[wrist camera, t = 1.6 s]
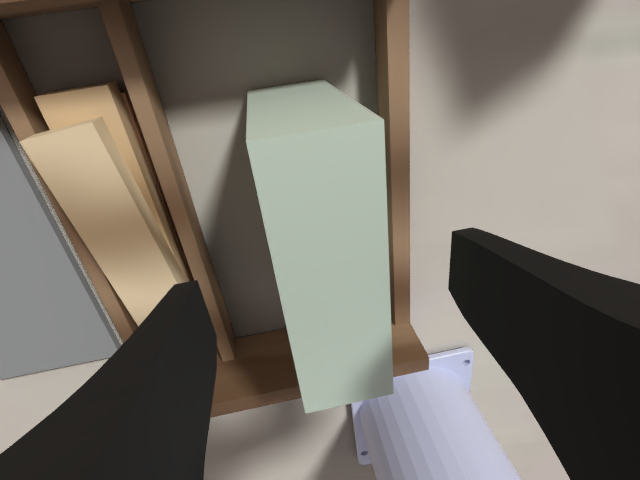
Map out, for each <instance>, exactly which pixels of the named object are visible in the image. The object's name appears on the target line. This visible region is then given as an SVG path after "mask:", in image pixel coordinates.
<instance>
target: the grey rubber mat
mask: <svg viewBox="0 0 640 480" xmlns="http://www.w3.org/2000/svg"><path fill="white" fill-rule="evenodd" d="M120 347H121V345H120V343H119V341H118V339H117V337H116V336H115V334H114V332H113V330H112V328H111V326H110V324H109V322H108V320H107V318H106V317H105V315H104V313H103V311H102V309H101V307H100V305H99V303H98V301H97V299H96V297H95V296H94V294H93V292H92V290H91V288H90V286H89V284H88V282H87V280H86V278H85V277H84V275H83V273H82V271H81V269H80V267H79V265H78V263H77V261H76V259H75V258H74V256H73V254H72V252H71V250H70V248H69V246H68V244H67V242H66V240H65V239H64V237H63V235H62V233H61V231H60V229H59V227H58V225H57V223H56V221H55V220H54V218H53V216H52V214H51V212H50V210H49V208H48V206H47V204H46V202H45V200H44V199H43V197H42V195H41V193H40V191H39V189H38V187H37V185H36V183H35V181H34V180H33V178H32V176H31V174H30V172H29V170H28V168H27V166H26V164H25V162H24V161H23V159H22V157H21V155H20V153H19V151H18V149H17V147H16V145H15V143H14V142H13V140H12V138H11V136H10V134H9V132H8V130H7V128H6V126H5V124H4V123H3V121H2V119H1V117H0V380H1V379H6V378H11V377H16V376H21V375H26V374H31V373H36V372H41V371H45V370H50V369H55V368H60V367H65V366H70V365H75V364H80V363H85V362H90V361H95V360H100V359H105V358H110V357H111V356H112V355H113V354H114V353H115V352H116V351H117V350H118V349H119V348H120Z"/></svg>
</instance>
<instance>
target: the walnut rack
mask: <svg viewBox="0 0 640 480" xmlns="http://www.w3.org/2000/svg"><path fill="white" fill-rule="evenodd" d="M141 1H149V0H0V105H1V107H2V109H3V111H4V112H5V114H6V116H7V118H8V120H9V122H10V124H11V126H12V128H13V130H14V132H15V134H16V136H17V138H18V140H19V141H22V140H24V139H26V138H28V137H30V136H32V135H34V134H37V133H41V132H45V131H49V130H50V129H49V127H48V125H47V123H46V121H45V119H44V117H43V115H42V113H41V111H40V109H39V107H38V105H37V103H36V101H35V99H34V97H35V96H36V94H35V92H34V90H33V88H32V86H31V84H30V81H29V79H28V77H27V75H26V73H25V71H24V69H23V66H22V64H21V62H20V60H19V58H18V56H17V54H16V51H15V49H14V47H13V45H12V43H11V41H10V39H9V36H8V34H7V32H6V30H5V28H4V26H3V24H2V21H1V20H2V19H10V18H18V17H25V16H33V15H41V14H49V13H56V12H64V11H72V10H79V9H87V8H95V7H98V8H99V11H100V13H101V16H102V19H103V22H104V25H105V28H106V31H107V33H108V36H109V39H110V42H111V45H112V48H113V50H114V53H115V56H116V59H117V62H118V65H119V68H120V70H121V73H122V76H123V79H124V82H125V85H126V87H127V90H128V93H129V96H130V99H131V102H132V105H133V107H134V110H135V113H136V116H137V119H138V122H139V125H140V127H141V130H142V133H143V136H144V139H145V142H146V144H147V147H148V150H149V153H150V156H151V159H152V162H153V164H154V167H155V170H156V173H157V176H158V179H159V181H160V184H161V187H162V190H163V193H164V196H165V199H166V201H167V204H168V207H169V210H170V213H171V216H172V218H173V221H174V224H175V227H176V230H177V233H178V236H179V238H180V241H181V244H182V247H183V250H184V253H185V255H186V258H187V261H188V264H189V267H190V270H191V273H192V275H193V278H194V281H195V280H198V283H199V286H200V289H201V292H202V295H203V298H204V300H205V303H206V306H207V309H208V312H209V315H210V318H211V321H212V323H213V326H214V329H215V332H216V335H217V371H216V379H215V386H214V394H213V401H212V408H211V415H210V418H211V417H215V416H220V415H224V414H229V413H233V412H238V411H243V410H247V409H252V408H256V407H261V406H265V405H270V404H274V403H279V402H284V401H288V400H293V399H297V398H302V396H301V392H300V387H299V382H298V378H297V373H296V369H295V364H294V360H293V355H292V350H291V346H290V341H289V337H288V332H287V328H285V329H280V330H275V331H270V332H265V333H261V334H256V335H251V336H246V337H241V338H235V335H234V332H233V329H232V326H231V322H230V319H229V316H228V313H227V310H226V307H225V303H224V300H223V297H222V294H221V291H220V287H219V284H218V281H217V278H216V275H215V272H214V268H213V265H212V262H211V259H210V256H209V252H208V249H207V246H206V243H205V240H204V236H203V233H202V230H201V227H200V224H199V221H198V217H197V214H196V211H195V208H194V205H193V201H192V198H191V195H190V192H189V189H188V186H187V182H186V179H185V176H184V173H183V170H182V166H181V163H180V160H179V157H178V154H177V151H176V147H175V144H174V141H173V138H172V135H171V131H170V128H169V125H168V122H167V119H166V116H165V112H164V109H163V106H162V103H161V100H160V96H159V93H158V90H157V87H156V84H155V80H154V77H153V74H152V71H151V68H150V65H149V61H148V58H147V55H146V52H145V49H144V45H143V42H142V39H141V36H140V33H139V30H138V26H137V23H136V20H135V17H134V14H133V10H132V7H131V4H130V3H134V2H141ZM374 21H375V45H376V69H377V93H378V116H379V117H381V118H383V119H384V130H385V159H386V188H387V216H388V245H389V274H390V302H391V331H392V359H393V377H397V376H402V375H407V374H411V373H416V372H420V371H425V370H429V357H428V355H427V353H426V351H425V349H424V347H423V346H422V344H421V342H420V340H419V338H418V336H417V335H416V333H415V331H414V329H413V327H412V326H411V324H410V130H409V0H374ZM23 149H24V148H23ZM24 151H25V150H24ZM25 153H26V152H25ZM26 155H27V153H26ZM27 157H28V159H29V161H30V163H31V165H32V167H33V168H34V170H35V172H36V174H37V176H38V178H39V180H40V182H41V184H42V186H43V188H44V190H45V192H46V194H47V196H48V197H49V199H50V201H51V203H52V205H53V207H54V209H55V211H56V213H57V215H58V217H59V219H60V221H61V223H62V224H63V226H64V228H65V230H66V232H67V234H68V236H69V238H70V240H71V242H72V244H73V246H74V248H75V250H76V252H77V253H78V255H79V257H80V259H81V261H82V263H83V265H84V267H85V269H86V271H87V273H88V275H89V277H90V279H91V280H92V282H93V284H94V286H95V288H96V290H97V292H98V294H99V296H100V298H101V300H102V302H103V304H104V306H105V308H106V309H107V311H108V313H109V315H110V317H111V319H112V321H113V323H114V325H115V327H116V329H117V331H118V333H119V335H120V336H121V338H122V340H123V342H125V341H126V340H127V339H128V338H129V337H130V336H131V335H132V334H133V332H134V331H135V330H136V329H137V328H138V325H137V323H136V322H135V320H134V319H133V317H132V316H131V314H130V313H129V311H128V310H127V308H126V306H125V305H124V303H123V302H122V300H121V299H120V297H119V296H118V294H117V292H116V291H115V289H114V288H113V286H112V285H111V283H110V282H109V280H108V279H107V277H106V275H105V274H104V272H103V271H102V269H101V268H100V266H99V265H98V263H97V261H96V260H95V258H94V257H93V255H92V254H91V252H90V251H89V249H88V248H87V246H86V244H85V243H84V241H83V240H82V238H81V237H80V235H79V234H78V232H77V231H76V229H75V227H74V226H73V224H72V223H71V221H70V220H69V218H68V217H67V215H66V213H65V212H64V210H63V209H62V207H61V206H60V204H59V203H58V201H57V200H56V198H55V196H54V195H53V193H52V192H51V190H50V189H49V187H48V186H47V184H46V183H45V181H44V179H43V178H42V176H41V175H40V173H39V172H38V170H37V169H36V167H35V165H34V164H33V162H32V161H31V159H30V158H29V156H28V155H27Z"/></svg>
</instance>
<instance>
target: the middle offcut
mask: <svg viewBox="0 0 640 480" xmlns="http://www.w3.org/2000/svg"><path fill="white" fill-rule="evenodd" d="M34 99H35V101H36V103H37V105H38V107H39V109H40V111H41V113H42V115H43V117H44V119H45V121H46V123H47V125H48V127H49V129H50V130H52V129H56V128H60V127H63V126H67V125H71V124H75V123H78V122H82V121H86V120H89V119H93V118H97V117H100V116H102V117H103V119H104V121H105V123H106V125H107V127H108V129H109V130H110V132H111V134H112V136H113V138H114V140H115V142H116V144H117V146H118V148H119V150H120V152H121V154H122V156H123V158H124V160H125V162H126V164H127V166H128V168H129V170H130V171H131V173H132V175H133V177H134V179H135V181H136V183H137V185H138V187H139V189H140V191H141V193H142V195H143V197H144V199H145V201H146V203H147V205H148V207H149V209H150V211H151V212H152V214H153V216H154V218H155V220H156V222H157V224H158V226H159V228H160V230H161V232H162V234H163V236H164V238H165V240H166V242H167V244H168V246H169V248H170V250H171V252H172V253H173V255H174V257H175V259H176V261H177V263H178V265H179V267H180V269H181V271H182V273H183V275H184V277H185V279H186V281H187V282H189V281H191V278H190V275H189V273H188V270H187V267H186V265H185V262H184V259H183V257H182V254H181V251H180V249H179V246H178V243H177V241H176V238H175V235H174V233H173V230H172V228H171V225H170V222H169V220H168V217H167V214H166V212H165V209H164V206H163V204H162V201H161V198H160V196H159V193H158V190H157V188H156V185H155V183H154V180H153V177H152V175H151V172H150V169H149V167H148V164H147V161H146V159H145V156H144V153H143V151H142V148H141V145H140V143H139V140H138V137H137V135H136V132H135V130H134V127H133V124H132V122H131V119H130V116H129V114H128V111H127V108H126V106H125V103H124V100H123V98H122V95H121V92H120V90H119V87H118V84H117V82H110V83H103V84H97V85H91V86H85V87H79V88H73V89H66V90H60V91H54V92H48V93H44V94H41V95H38V96H35V97H34Z"/></svg>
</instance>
